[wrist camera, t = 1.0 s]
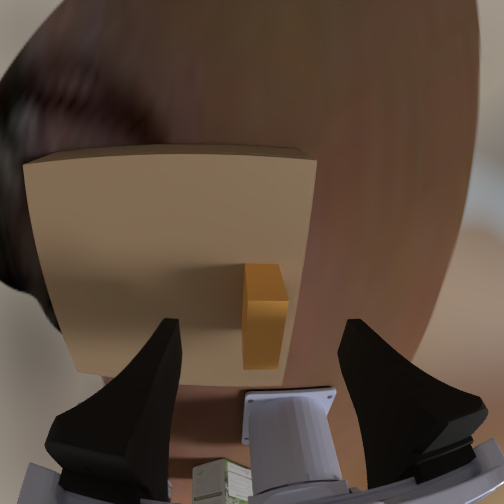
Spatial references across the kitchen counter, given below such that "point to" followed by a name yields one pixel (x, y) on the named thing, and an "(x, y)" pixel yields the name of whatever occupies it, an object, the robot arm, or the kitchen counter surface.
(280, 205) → the lid panel
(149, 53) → the kitchen counter surface
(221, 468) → the syrup box
